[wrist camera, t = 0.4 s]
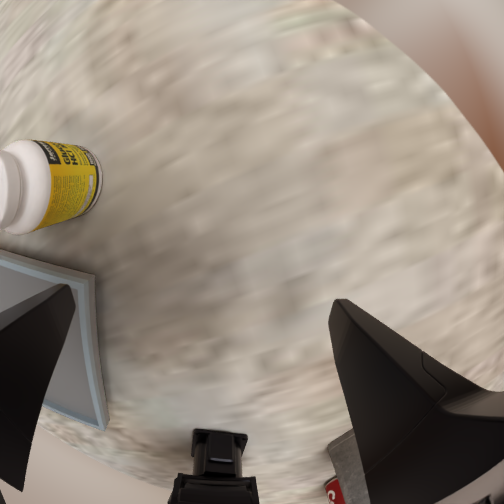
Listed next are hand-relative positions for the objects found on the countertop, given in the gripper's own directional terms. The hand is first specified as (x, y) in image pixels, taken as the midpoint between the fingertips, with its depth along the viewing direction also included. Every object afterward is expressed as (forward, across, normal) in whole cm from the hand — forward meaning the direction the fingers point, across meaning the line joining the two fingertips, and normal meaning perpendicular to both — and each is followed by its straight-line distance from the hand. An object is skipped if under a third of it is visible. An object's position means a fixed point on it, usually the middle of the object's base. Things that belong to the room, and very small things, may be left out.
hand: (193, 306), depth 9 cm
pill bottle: (+14, +13, -1) cm, 19 cm away
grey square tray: (+11, +19, +14) cm, 26 cm away
